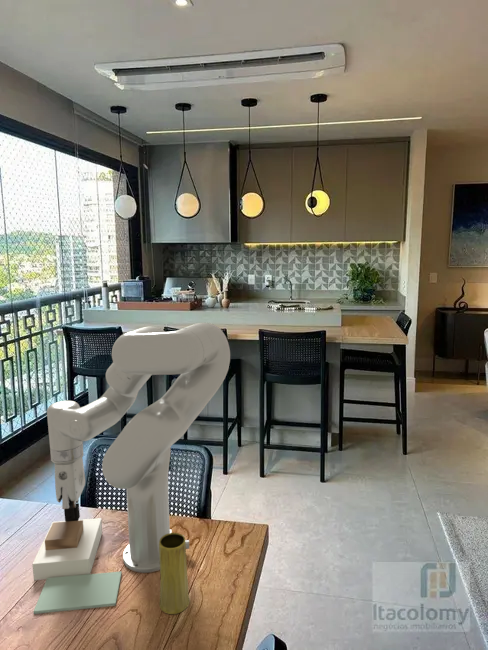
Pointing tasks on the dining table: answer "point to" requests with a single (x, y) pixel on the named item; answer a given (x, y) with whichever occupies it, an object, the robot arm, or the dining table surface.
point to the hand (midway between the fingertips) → (72, 519)
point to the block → (64, 535)
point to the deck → (70, 554)
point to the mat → (79, 592)
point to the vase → (173, 574)
